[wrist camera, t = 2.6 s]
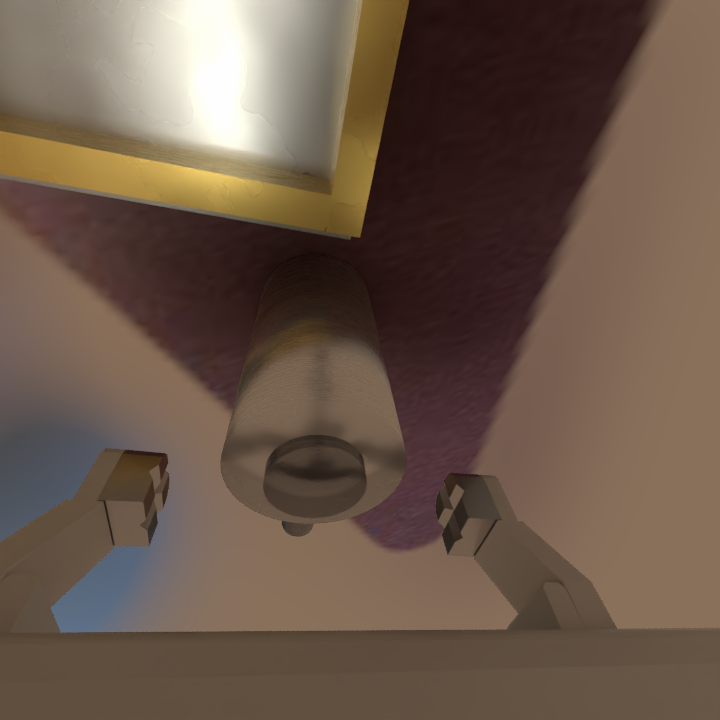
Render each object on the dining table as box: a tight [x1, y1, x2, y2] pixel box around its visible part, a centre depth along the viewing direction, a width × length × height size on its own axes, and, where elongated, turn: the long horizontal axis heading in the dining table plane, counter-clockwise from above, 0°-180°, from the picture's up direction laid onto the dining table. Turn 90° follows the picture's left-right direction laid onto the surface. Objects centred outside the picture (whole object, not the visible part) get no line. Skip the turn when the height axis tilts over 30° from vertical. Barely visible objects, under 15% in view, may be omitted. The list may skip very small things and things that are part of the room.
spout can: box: [221, 254, 406, 536], centre depth 16 cm, size 7×5×11 cm
